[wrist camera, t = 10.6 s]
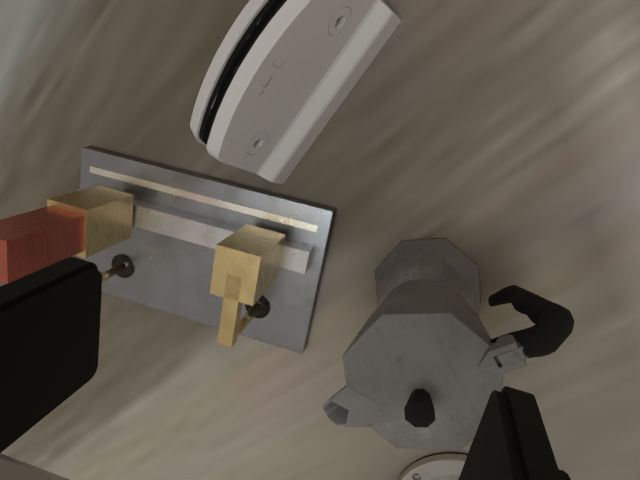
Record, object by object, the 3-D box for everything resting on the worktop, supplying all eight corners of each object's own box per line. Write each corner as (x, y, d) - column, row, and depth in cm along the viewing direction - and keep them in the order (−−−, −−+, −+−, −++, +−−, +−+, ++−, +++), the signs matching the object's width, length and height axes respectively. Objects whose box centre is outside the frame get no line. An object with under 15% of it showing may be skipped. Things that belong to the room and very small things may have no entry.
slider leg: (135, 276, 46) (12, 350, 32) (103, 266, 46) (-32, 335, 33) (141, 192, 43) (10, 235, 30) (107, 183, 43) (-37, 221, 30)
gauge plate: (305, 347, 46) (277, 401, 37) (85, 280, 49) (16, 316, 41) (335, 208, 41) (310, 236, 33) (90, 146, 45) (13, 156, 37)
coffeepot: (384, 358, 44) (352, 519, 27) (334, 270, 43) (268, 383, 26) (552, 293, 39) (640, 442, 22) (501, 191, 38) (554, 268, 21)
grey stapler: (280, 187, 42) (200, 180, 33) (247, 153, 43) (162, 138, 34) (405, 16, 36) (347, -49, 27) (362, -17, 37) (294, -88, 28)
